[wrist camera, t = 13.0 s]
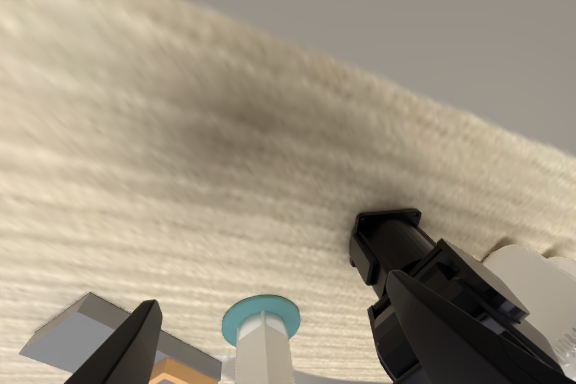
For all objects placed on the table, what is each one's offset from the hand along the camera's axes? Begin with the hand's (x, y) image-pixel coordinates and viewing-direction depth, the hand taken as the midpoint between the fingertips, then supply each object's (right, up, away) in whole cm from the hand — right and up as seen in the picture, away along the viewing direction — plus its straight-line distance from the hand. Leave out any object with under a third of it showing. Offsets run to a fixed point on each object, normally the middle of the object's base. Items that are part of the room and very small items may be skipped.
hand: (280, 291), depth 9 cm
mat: (-3, -11, +19) cm, 22 cm away
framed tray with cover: (-17, -14, +18) cm, 28 cm away
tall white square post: (-3, -12, +19) cm, 22 cm away
